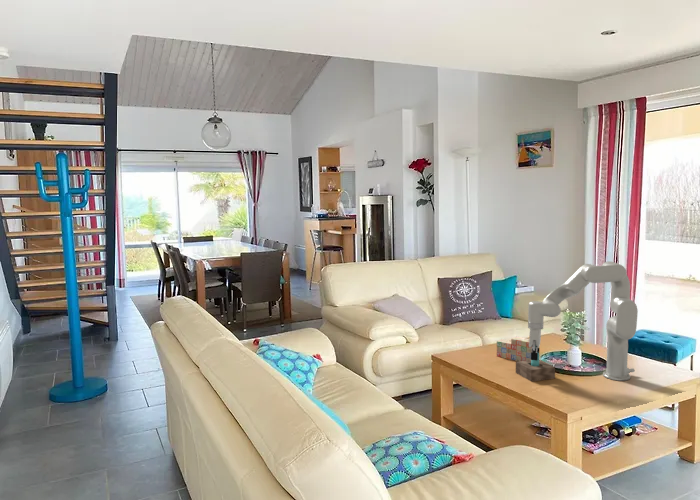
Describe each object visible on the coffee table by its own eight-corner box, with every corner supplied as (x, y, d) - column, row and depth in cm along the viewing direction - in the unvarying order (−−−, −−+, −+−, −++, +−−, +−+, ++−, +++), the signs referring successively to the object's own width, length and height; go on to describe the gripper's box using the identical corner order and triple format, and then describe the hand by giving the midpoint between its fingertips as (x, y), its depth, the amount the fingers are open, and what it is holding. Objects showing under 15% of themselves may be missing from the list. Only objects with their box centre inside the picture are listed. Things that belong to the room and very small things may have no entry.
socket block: (538, 369, 287) (538, 359, 286) (554, 378, 274) (555, 367, 273) (515, 372, 283) (515, 361, 283) (531, 381, 270) (531, 370, 269)
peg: (536, 373, 281) (536, 351, 280) (540, 376, 277) (541, 353, 276) (529, 374, 280) (529, 352, 279) (533, 377, 276) (534, 354, 275)
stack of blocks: (496, 356, 312) (496, 336, 311) (501, 354, 317) (501, 333, 315) (531, 363, 298) (531, 342, 296) (536, 361, 302) (536, 340, 301)
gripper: (529, 320, 285) (529, 351, 287) (526, 328, 269) (525, 361, 271) (544, 322, 282) (544, 353, 284) (541, 329, 266) (541, 363, 268)
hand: (535, 357), depth 277 cm, fingers open, 9 cm apart
